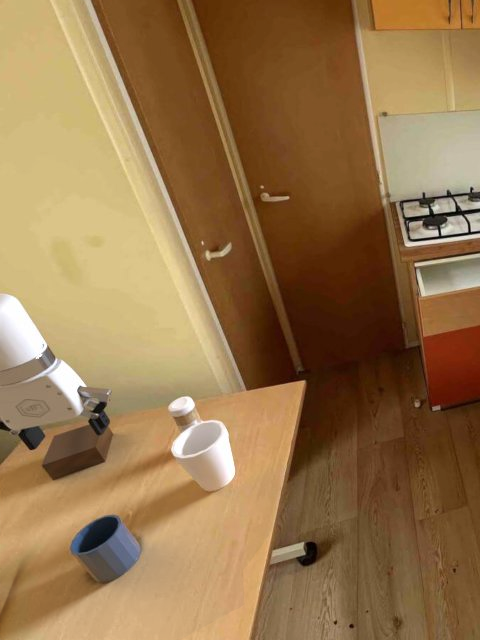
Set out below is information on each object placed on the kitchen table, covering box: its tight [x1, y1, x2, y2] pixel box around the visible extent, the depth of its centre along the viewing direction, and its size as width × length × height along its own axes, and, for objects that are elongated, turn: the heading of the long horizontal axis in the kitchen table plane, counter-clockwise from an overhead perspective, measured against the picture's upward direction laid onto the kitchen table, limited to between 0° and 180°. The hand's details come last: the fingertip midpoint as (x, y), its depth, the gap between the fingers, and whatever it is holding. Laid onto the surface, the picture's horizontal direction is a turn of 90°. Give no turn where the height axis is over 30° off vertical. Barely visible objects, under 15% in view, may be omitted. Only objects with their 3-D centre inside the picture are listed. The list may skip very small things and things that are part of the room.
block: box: [40, 423, 114, 481], centre depth 97 cm, size 9×9×5 cm
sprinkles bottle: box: [167, 396, 204, 434], centre depth 99 cm, size 5×5×14 cm
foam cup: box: [170, 419, 236, 493], centre depth 91 cm, size 10×9×13 cm
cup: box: [69, 514, 142, 583], centre depth 77 cm, size 7×7×9 cm
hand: (71, 436), depth 77 cm, fingers open, 9 cm apart
